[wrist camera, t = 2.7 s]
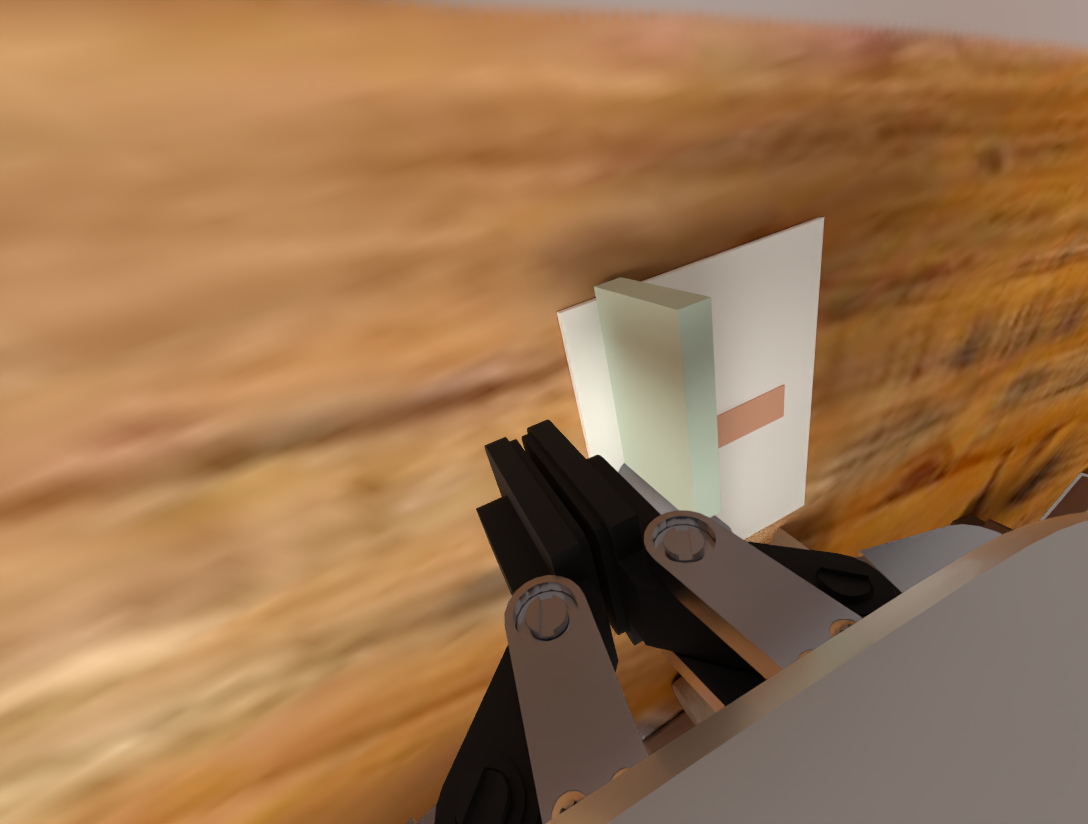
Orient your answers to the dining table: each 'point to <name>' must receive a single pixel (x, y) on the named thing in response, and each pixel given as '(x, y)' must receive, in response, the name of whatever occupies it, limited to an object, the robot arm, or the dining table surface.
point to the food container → (1071, 499)
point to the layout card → (732, 370)
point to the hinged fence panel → (664, 388)
